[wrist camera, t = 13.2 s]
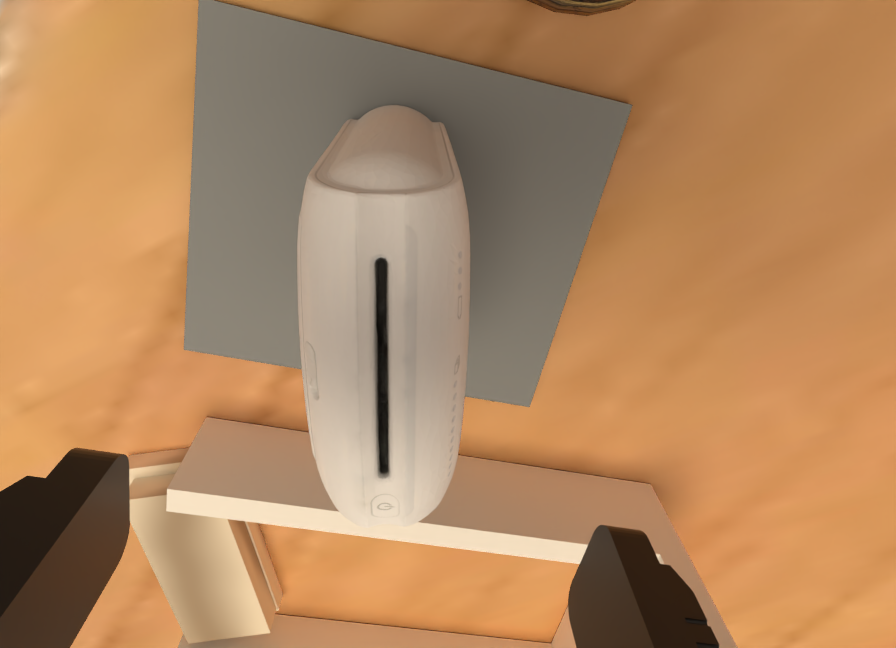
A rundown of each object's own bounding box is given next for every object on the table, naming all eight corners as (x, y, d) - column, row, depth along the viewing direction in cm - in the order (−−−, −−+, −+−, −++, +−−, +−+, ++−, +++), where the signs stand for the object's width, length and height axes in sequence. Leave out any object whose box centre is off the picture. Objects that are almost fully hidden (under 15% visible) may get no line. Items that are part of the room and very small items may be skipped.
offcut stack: (232, 437, 29) (214, 478, 27) (284, 587, 34) (273, 635, 31) (132, 450, 29) (104, 492, 27) (198, 598, 34) (180, 647, 31)
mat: (628, 103, 23) (632, 105, 22) (527, 401, 29) (529, 407, 28) (203, -3, 21) (198, -4, 20) (187, 344, 26) (183, 349, 26)
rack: (650, 484, 31) (745, 662, 22) (567, 658, 37) (616, 854, 28) (206, 417, 28) (109, 594, 19) (193, 619, 34) (114, 827, 25)
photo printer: (444, 347, 27) (466, 569, 16) (348, 346, 26) (300, 571, 15) (453, 105, 22) (494, 174, 11) (338, 101, 22) (261, 168, 11)
